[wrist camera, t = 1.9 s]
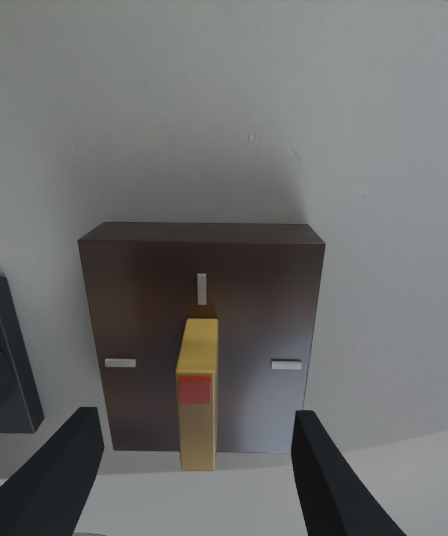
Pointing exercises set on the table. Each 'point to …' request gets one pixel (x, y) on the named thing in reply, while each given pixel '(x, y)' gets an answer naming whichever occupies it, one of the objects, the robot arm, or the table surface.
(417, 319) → the table surface
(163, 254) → the plate
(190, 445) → the yellow rectangular block
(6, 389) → the dark grey button mount
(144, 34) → the table surface
